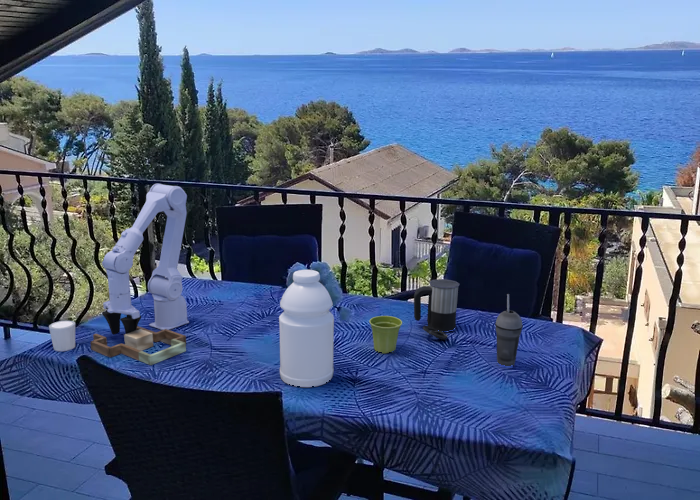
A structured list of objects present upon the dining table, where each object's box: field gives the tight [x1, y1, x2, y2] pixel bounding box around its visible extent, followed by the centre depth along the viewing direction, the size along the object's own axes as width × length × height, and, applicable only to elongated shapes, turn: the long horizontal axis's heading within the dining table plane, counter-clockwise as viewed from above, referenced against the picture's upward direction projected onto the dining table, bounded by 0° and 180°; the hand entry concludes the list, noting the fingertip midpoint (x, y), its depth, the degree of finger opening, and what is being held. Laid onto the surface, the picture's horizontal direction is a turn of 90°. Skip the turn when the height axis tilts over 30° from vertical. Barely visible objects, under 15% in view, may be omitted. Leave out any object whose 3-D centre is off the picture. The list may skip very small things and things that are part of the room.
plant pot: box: [368, 315, 403, 354], centre depth 179 cm, size 9×9×9 cm
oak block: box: [123, 329, 154, 351], centre depth 179 cm, size 6×6×4 cm
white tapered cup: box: [48, 320, 76, 352], centre depth 178 cm, size 7×7×7 cm
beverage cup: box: [494, 293, 524, 366], centre depth 168 cm, size 7×7×20 cm
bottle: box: [278, 269, 335, 388], centre depth 159 cm, size 14×14×28 cm
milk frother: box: [413, 278, 460, 340], centre depth 192 cm, size 14×16×15 cm
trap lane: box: [89, 325, 187, 366], centre depth 179 cm, size 19×26×2 cm
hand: (123, 336), depth 183 cm, fingers open, 7 cm apart
